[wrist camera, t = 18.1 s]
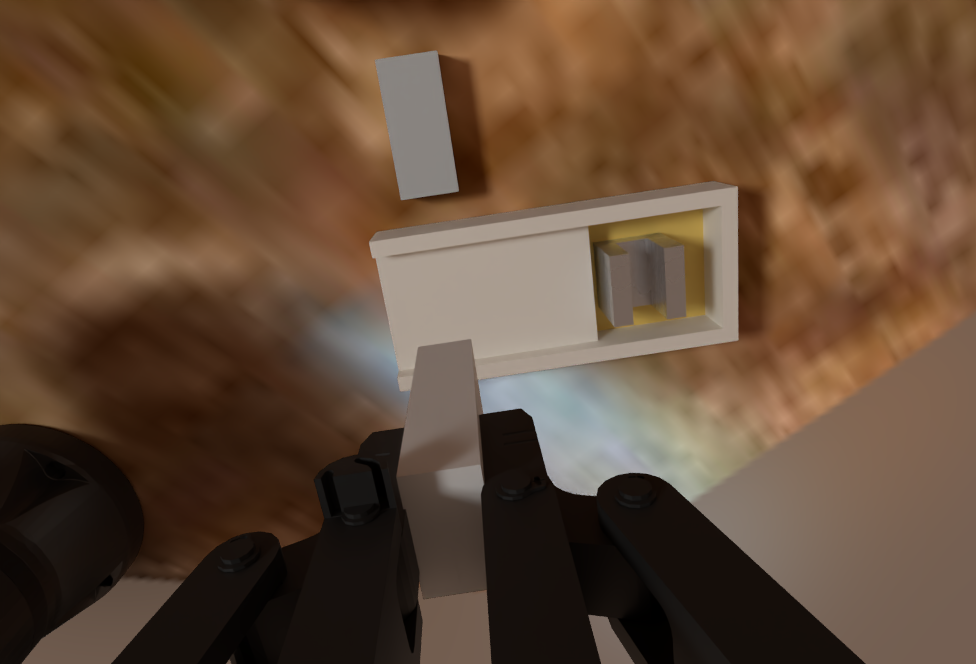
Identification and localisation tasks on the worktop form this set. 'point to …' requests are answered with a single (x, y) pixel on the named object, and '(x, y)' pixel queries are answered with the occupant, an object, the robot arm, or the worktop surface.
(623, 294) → the clip
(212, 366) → the worktop surface
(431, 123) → the grey tall rectangular block
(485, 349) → the box with sliding lid
